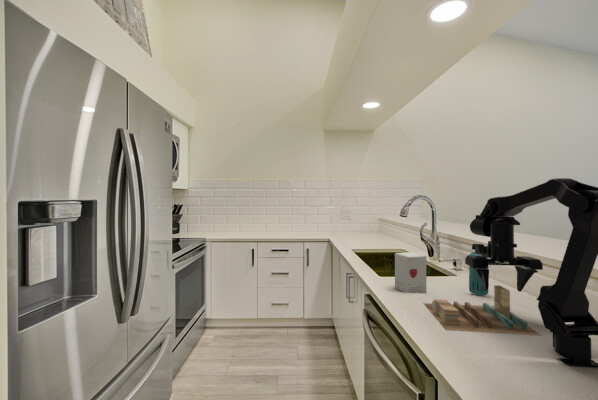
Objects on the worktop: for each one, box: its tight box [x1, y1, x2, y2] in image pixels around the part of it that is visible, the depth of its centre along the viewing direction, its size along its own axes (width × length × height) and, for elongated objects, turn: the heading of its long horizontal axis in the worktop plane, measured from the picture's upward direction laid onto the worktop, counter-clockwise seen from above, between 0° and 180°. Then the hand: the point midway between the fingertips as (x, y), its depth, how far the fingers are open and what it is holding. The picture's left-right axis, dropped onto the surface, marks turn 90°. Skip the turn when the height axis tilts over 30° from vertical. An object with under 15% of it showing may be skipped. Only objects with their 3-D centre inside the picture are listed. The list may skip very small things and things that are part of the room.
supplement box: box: [394, 251, 427, 294], centre depth 112 cm, size 9×9×15 cm
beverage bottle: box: [468, 243, 490, 296], centre depth 105 cm, size 6×7×20 cm
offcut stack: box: [431, 298, 461, 325], centre depth 85 cm, size 12×4×4 cm, turn 172°
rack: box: [423, 301, 543, 336], centre depth 84 cm, size 20×24×3 cm
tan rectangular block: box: [493, 284, 511, 319], centre depth 83 cm, size 5×2×9 cm, turn 172°
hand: (502, 290), depth 83 cm, fingers open, 9 cm apart
